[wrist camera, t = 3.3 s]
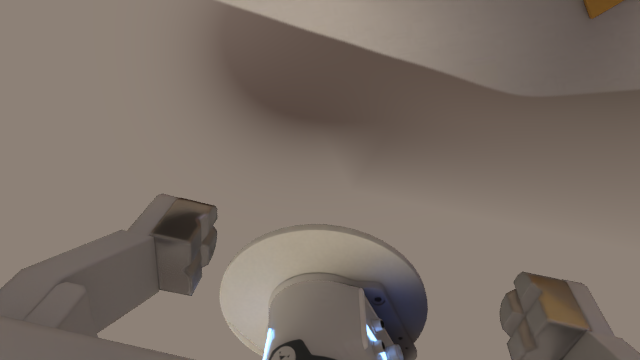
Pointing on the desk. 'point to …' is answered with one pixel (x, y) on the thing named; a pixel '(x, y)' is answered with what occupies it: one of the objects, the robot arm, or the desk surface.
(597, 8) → the napkin
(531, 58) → the desk surface
